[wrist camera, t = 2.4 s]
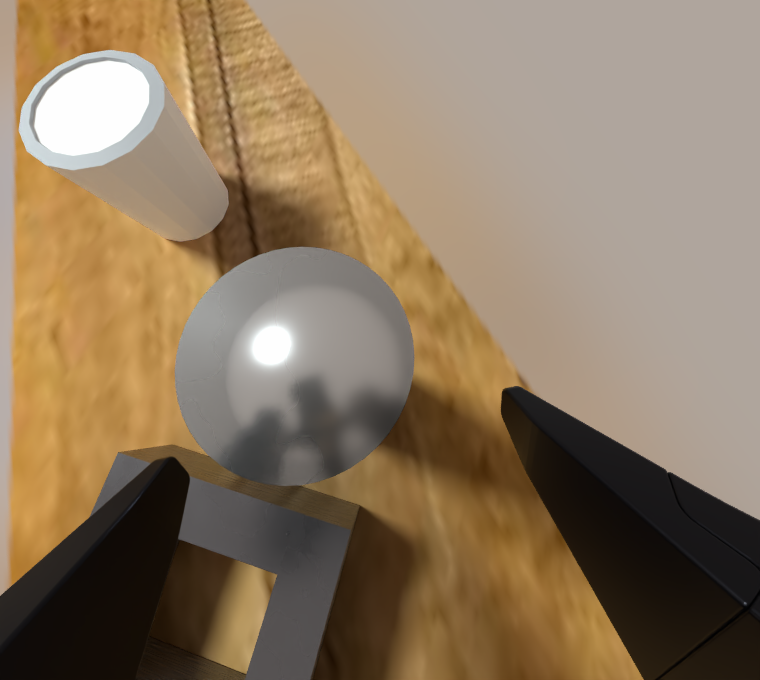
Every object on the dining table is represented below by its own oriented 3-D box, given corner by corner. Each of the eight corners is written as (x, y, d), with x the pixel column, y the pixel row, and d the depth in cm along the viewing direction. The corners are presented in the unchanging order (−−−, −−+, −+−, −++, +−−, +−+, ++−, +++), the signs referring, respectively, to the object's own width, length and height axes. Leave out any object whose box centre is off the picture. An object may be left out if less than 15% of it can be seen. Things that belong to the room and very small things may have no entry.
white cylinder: (224, 148, 22) (149, 29, 15) (249, 229, 20) (177, 137, 14) (130, 180, 22) (9, 73, 15) (147, 264, 20) (21, 188, 13)
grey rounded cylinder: (388, 444, 17) (378, 526, 5) (314, 422, 17) (130, 444, 5) (408, 368, 18) (442, 274, 6) (337, 349, 18) (227, 222, 6)
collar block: (290, 762, 14) (256, 874, 11) (78, 673, 15) (-14, 749, 12) (359, 505, 16) (351, 530, 13) (171, 444, 17) (118, 452, 14)
